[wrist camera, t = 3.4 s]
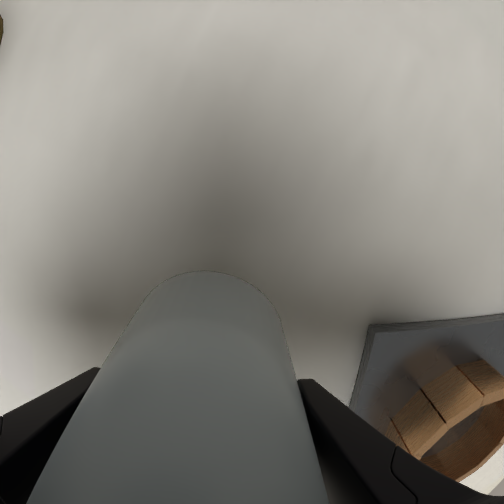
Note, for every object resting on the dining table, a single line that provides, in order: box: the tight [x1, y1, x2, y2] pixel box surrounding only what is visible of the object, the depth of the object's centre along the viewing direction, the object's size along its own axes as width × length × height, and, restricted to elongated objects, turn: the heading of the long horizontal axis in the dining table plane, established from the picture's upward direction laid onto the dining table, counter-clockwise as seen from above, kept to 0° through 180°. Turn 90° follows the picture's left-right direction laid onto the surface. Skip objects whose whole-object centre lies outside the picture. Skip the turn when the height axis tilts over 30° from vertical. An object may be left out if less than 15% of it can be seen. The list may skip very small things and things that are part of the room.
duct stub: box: [26, 271, 329, 504], centre depth 6 cm, size 5×5×8 cm
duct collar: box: [349, 314, 504, 482], centre depth 14 cm, size 14×14×4 cm
